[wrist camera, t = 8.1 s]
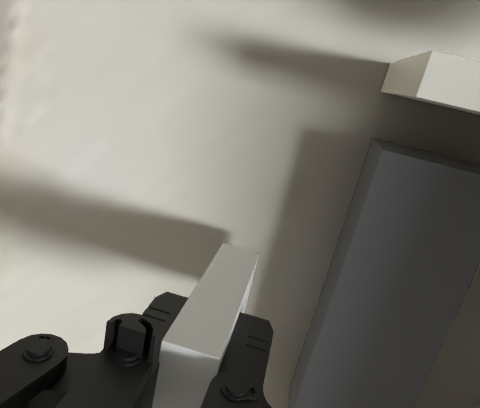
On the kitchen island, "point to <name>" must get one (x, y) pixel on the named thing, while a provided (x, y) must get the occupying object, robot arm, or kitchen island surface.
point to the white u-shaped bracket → (437, 81)
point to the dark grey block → (392, 281)
